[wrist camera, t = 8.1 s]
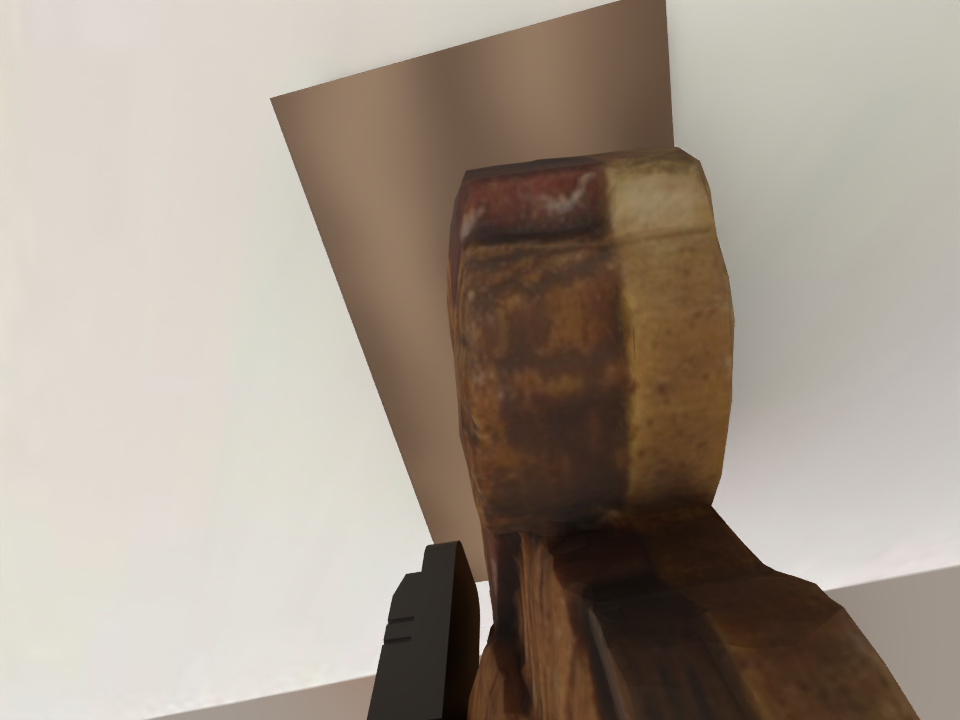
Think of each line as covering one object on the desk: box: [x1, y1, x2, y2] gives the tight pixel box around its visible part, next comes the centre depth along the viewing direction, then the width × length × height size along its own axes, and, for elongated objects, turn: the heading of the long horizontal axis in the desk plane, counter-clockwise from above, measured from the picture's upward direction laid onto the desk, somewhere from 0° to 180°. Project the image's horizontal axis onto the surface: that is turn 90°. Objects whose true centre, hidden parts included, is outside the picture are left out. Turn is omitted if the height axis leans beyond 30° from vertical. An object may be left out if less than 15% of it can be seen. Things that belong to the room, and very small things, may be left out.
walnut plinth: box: [270, 0, 674, 582], centre depth 21 cm, size 12×22×4 cm, turn 13°
